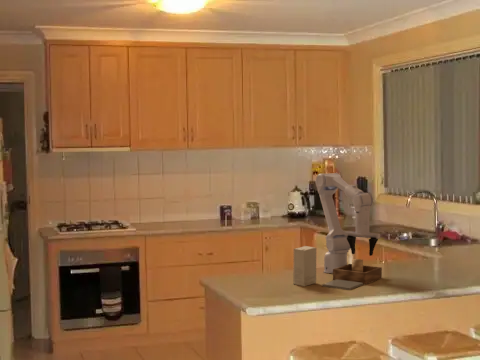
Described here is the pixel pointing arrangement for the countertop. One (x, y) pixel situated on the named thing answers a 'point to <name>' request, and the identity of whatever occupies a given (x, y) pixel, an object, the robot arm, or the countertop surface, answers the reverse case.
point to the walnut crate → (357, 274)
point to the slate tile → (342, 284)
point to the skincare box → (304, 266)
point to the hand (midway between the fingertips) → (362, 254)
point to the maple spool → (357, 265)
